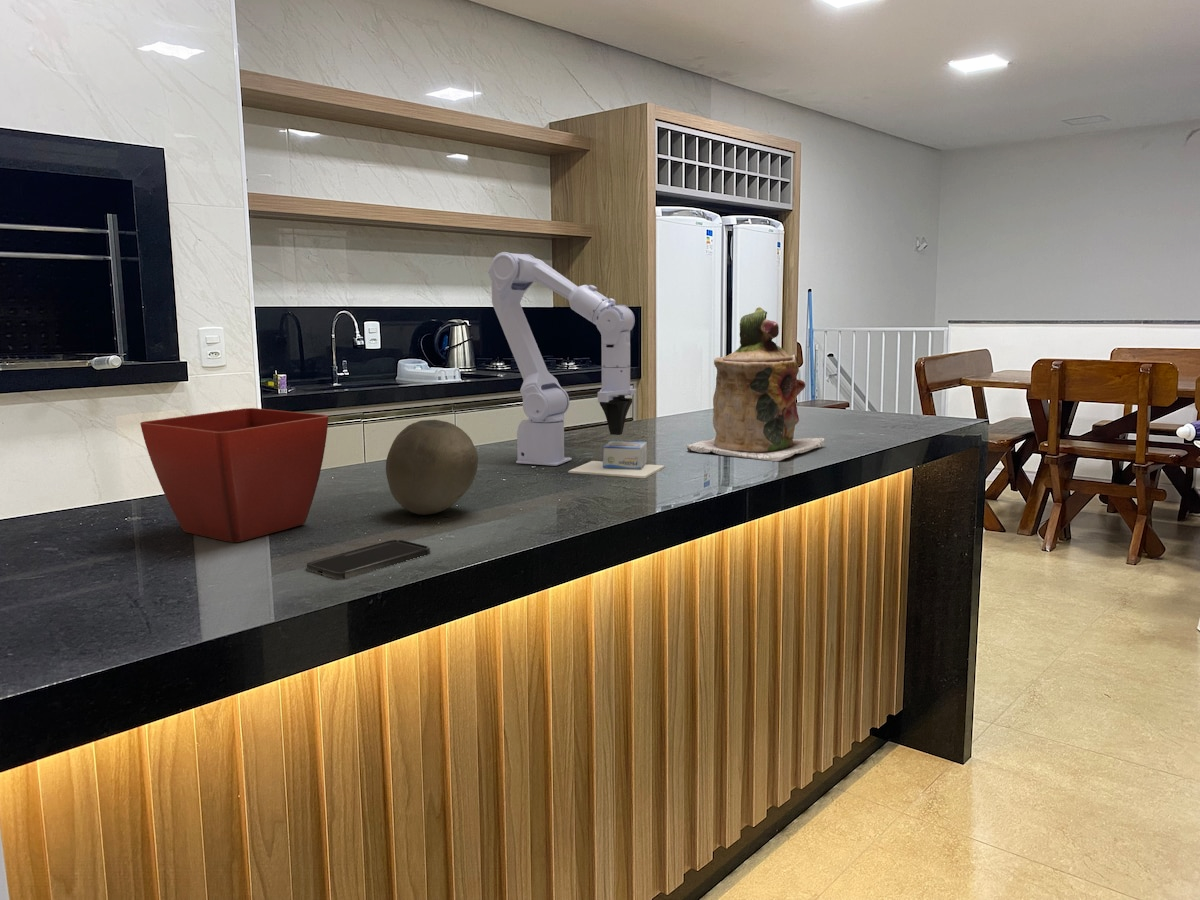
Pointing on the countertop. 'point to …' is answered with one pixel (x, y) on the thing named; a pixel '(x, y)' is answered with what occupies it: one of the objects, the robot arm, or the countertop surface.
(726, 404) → the cookie jar
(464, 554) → the countertop surface
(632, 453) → the medicine box
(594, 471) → the mat
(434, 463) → the cantaloupe
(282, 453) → the plant pot
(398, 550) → the phone
